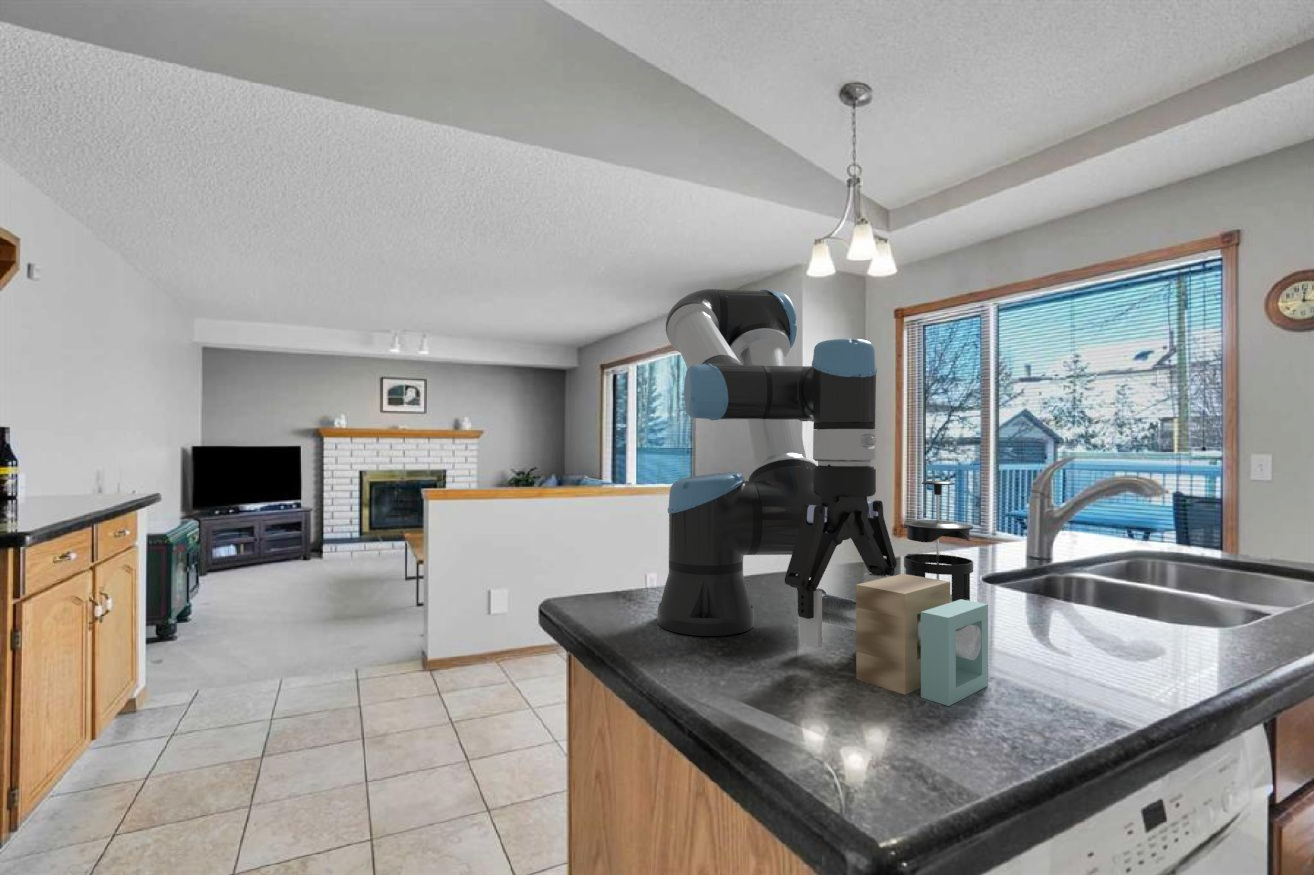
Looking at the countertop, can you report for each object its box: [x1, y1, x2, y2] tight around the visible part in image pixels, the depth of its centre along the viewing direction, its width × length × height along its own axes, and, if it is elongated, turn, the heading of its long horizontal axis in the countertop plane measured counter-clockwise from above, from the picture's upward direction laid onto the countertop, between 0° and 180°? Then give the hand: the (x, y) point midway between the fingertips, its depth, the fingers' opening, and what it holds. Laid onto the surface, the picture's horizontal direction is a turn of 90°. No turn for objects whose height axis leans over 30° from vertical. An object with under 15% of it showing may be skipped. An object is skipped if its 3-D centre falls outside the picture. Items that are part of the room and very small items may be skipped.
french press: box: [903, 480, 974, 603], centre depth 92 cm, size 12×9×23 cm
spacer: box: [920, 599, 989, 707], centre depth 71 cm, size 3×9×9 cm, turn 130°
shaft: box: [816, 587, 982, 660], centre depth 77 cm, size 21×5×5 cm, turn 40°
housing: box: [855, 573, 951, 696], centre depth 75 cm, size 6×10×12 cm, turn 130°
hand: (844, 634), depth 81 cm, fingers open, 13 cm apart
